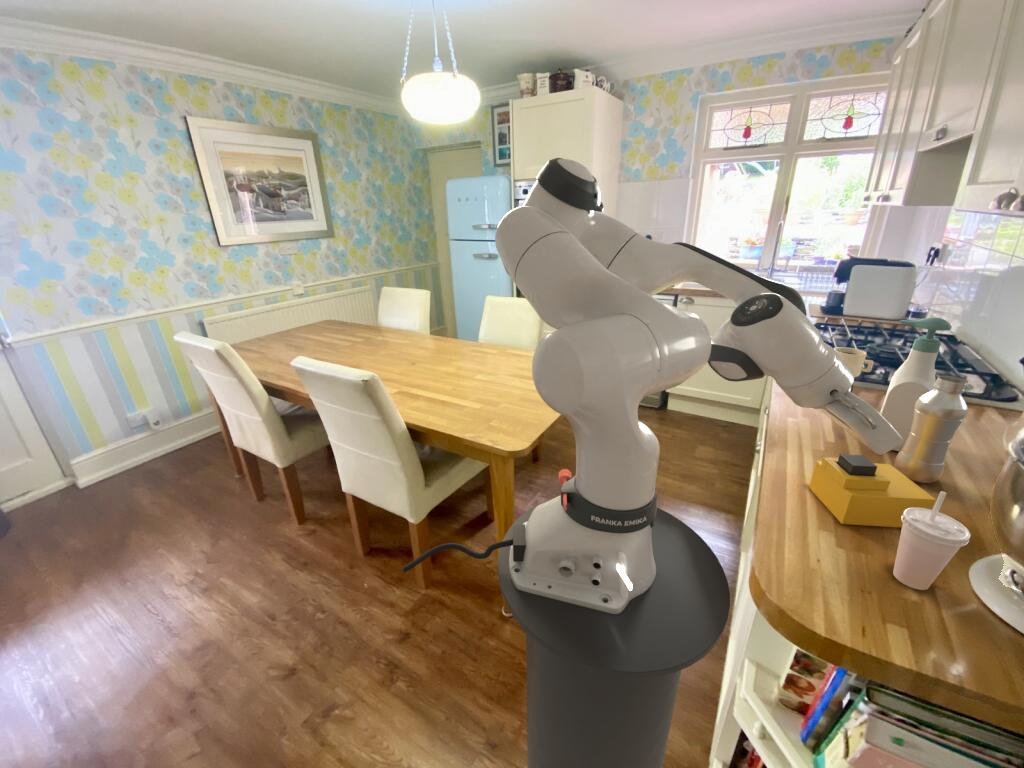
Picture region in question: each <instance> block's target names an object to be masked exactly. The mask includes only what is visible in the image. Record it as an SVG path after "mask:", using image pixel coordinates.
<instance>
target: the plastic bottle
mask: <svg viewBox="0 0 1024 768" xmlns="http://www.w3.org/2000/svg"><path fill="white" fill-rule="evenodd" d="M968 384H969V382H968V380H967V379H964V378H961V377H958V376H952V375H938V376H937V378H936V383H934V385H933V387H934V390H932V391H930V392H928V393H926V394H924V395H923V396H921V397H920V398H919V399H918V400H917V401H916V404H915V409H914V416H913V422H912V425H911V430H910V432H909V436H908V438H907V440H906V442H905V444H904V446H903V448H902V449H901V450H900V452H899V451H898V453H897V454H896V456H895V458H894V464H893V467H894V468H896V469H897V470H898V471H899V472H901V473H902V474H903V475H905V476H906V477H907V478H909V479H910V480H911V481H912V482H917V483H923V484H932V483H934V482H937V481H939V480H940V478H941V477H942V476H943V474H944V471H945V466H946V465H945V463H946V457H947V453H948V450H949V446H950V444H951V442H952V439H954V436H955V434H956V432H957V430H958V429H959V427H960V426H961V425H962V423H963V422H964V420H965V418H966V417H967V415H968V412H969V409H968V405H967V403H966V401H965V399H964V397H963V395H962V394H964V393H966V390H967V389H966V388H967V386H968Z"/></svg>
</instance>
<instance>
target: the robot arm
mask: <svg viewBox="0 0 1024 768" xmlns="http://www.w3.org/2000/svg"><path fill="white" fill-rule="evenodd" d="M538 172H539V173H538V174H537V175H536V181H535V183H534V184H533V186H532V187H531V189H530V192H528V194H527V196H526V198H525V200H524V202H523V204H522V205H521V206H518V207H514V208H512V209H511V210H509V211H508V212H507V213H505V215H504V216H503V217H502V218H501V220H500V221H499V223H498V224H497V227H496V230H495V235H494V237H495V238H494V244H495V247H496V249H497V253H498V255H499V258H500V261H501V262H502V265H503V268H504V270H505V272H506V273H507V275H508V276H509V277H510V278H511V280H512V282H513V283H514V285H515V286H516V287H517V289H518V290H519V291H520V292H521V294H522V296H524V298H525V299H526V301H527V302H528V303H529V305H530V306H531V307H532V309H533V310H534V311H535V313H536V314H537V316H538V317H539V318H540V319H541V321H542V322H544V323H545V324H547V326H549V327H550V328H553V329H556V330H554V331H552V332H551V333H548V334H546V335H544V336H543V337H542V338H541V339H540V340H539V342H538V343H537V346H536V348H535V349H534V353H533V355H532V360H531V362H532V363H531V376H532V380H533V384H534V387H535V390H536V392H537V394H538V395H539V397H540V398H541V400H542V401H543V402H544V403H545V404H546V405H547V406H548V407H549V408H550V409H552V410H553V411H554V412H556V413H558V414H559V415H561V416H563V417H564V418H565V419H566V420H567V421H568V422H569V424H570V426H571V429H572V431H573V435H574V439H575V475H574V476H572V475H573V474H572V471H570V469H568V468H563V469H561V470H560V471H559V472H558V480H557V481H558V484H559V485H560V495H558V496H556V497H554V499H553V498H551V499H552V500H550V499H548V500H549V501H547V500H546V501H547V502H545V501H544V502H545V503H543V502H542V503H543V504H540V503H539V504H540V505H538V504H537V505H538V506H537V507H536V508H535V509H534V510H533V512H532V513H531V515H530V517H529V520H528V521H527V522H525V523H523V524H514V523H513V524H514V525H513V524H512V525H513V539H511V540H506V541H503V540H501V541H497V542H495V543H493V544H491V545H489V546H488V547H487V548H486V550H485V551H484V552H477V551H474V550H472V549H470V548H469V547H467V546H465V545H463V544H460V543H457V542H446V543H442V544H439V545H436V546H434V547H432V548H430V549H428V550H426V551H425V552H423V553H422V554H421V555H419V556H418V557H417V558H415V559H413V560H412V561H410V562H408V563H407V564H405V565H404V566H402V567H401V568H402V571H403V573H404V574H405V573H408V572H409V571H410V570H411V569H413V568H415V567H417V566H418V565H419V564H421V563H422V562H423V561H425V560H426V559H428V558H430V557H431V556H432V555H433V556H434V554H437V553H439V552H441V551H445V550H457V551H460V552H462V553H464V554H466V555H467V556H469V557H471V558H473V559H477V560H486V559H487V558H489V557H490V556H491V555H492V552H493V551H496V550H498V549H500V548H502V547H507V546H511V548H510V555H509V572H510V576H511V579H512V582H513V584H514V585H515V587H516V588H517V589H518V590H521V591H525V592H528V593H532V594H536V595H540V596H544V597H548V598H552V599H556V600H560V601H564V602H568V603H572V604H576V605H580V606H583V607H587V608H591V609H595V610H599V611H603V612H607V613H611V614H619V613H621V612H622V611H623V610H624V609H625V607H626V606H627V604H628V603H629V601H630V600H631V599H633V598H635V597H637V596H639V595H640V594H642V593H644V592H645V591H646V590H647V589H648V588H649V587H650V586H651V585H652V583H653V582H654V579H655V576H656V565H655V561H654V557H653V550H652V535H651V532H652V527H653V525H654V519H655V518H656V511H657V508H658V492H657V490H656V484H657V476H658V468H659V463H660V455H661V445H660V441H659V440H658V438H657V436H656V435H655V434H654V432H653V431H652V430H651V428H649V426H647V425H646V424H645V423H643V422H642V421H640V420H639V406H640V404H641V402H642V400H643V399H644V398H646V397H649V396H652V395H656V394H657V393H661V392H663V391H666V390H670V389H673V388H676V387H678V386H680V385H682V384H683V383H684V382H686V381H688V380H690V379H691V378H693V376H695V375H696V374H697V373H699V372H700V371H701V370H702V369H704V367H705V366H706V364H708V366H709V367H710V369H712V370H713V372H715V373H716V374H717V375H718V376H719V377H721V378H722V379H724V380H726V381H728V382H734V383H735V382H747V381H754V380H755V381H756V380H759V379H763V378H765V377H771V378H772V379H773V380H774V382H775V383H776V384H777V386H778V387H779V388H780V389H781V390H782V391H783V392H784V394H786V396H787V397H788V398H789V399H790V401H792V403H794V405H796V406H798V407H799V408H804V409H813V410H818V411H820V412H821V414H823V415H825V416H826V417H827V418H829V419H830V420H832V421H833V422H834V423H836V424H837V425H838V426H839V427H841V428H842V429H843V430H844V431H846V432H847V433H848V434H849V435H851V436H853V438H855V439H856V440H857V441H859V442H860V443H862V444H863V445H864V446H865V447H867V448H868V449H869V450H871V451H872V452H873V453H874V454H876V455H878V456H882V455H884V454H886V453H888V452H890V451H893V450H892V449H894V448H895V447H897V446H899V445H900V444H901V443H902V441H903V439H902V437H901V436H900V434H899V433H898V432H897V431H896V430H895V429H894V428H893V427H892V426H891V425H890V423H889V422H888V421H887V420H886V419H885V418H884V417H883V416H882V415H881V414H880V411H878V410H877V409H876V408H875V407H874V406H873V405H871V404H870V403H869V402H867V401H866V400H864V399H862V398H861V397H859V396H858V395H856V394H855V393H853V392H852V393H851V392H850V391H851V386H852V384H853V385H854V383H853V382H855V377H854V373H853V371H852V370H851V369H850V368H849V366H848V365H847V364H846V363H845V362H844V361H843V359H842V358H841V357H840V356H839V355H838V353H837V352H836V351H835V350H834V347H832V346H831V345H829V344H828V343H826V342H825V341H824V340H823V338H822V336H821V333H820V332H819V329H818V328H817V327H816V326H815V324H814V323H813V322H812V321H811V320H810V319H809V318H808V316H807V309H806V304H805V301H804V299H803V297H802V295H801V294H800V293H799V292H798V290H796V289H795V288H794V287H791V286H790V285H787V284H786V283H782V282H779V281H776V280H772V279H768V278H765V277H763V276H760V275H758V274H755V273H754V272H751V271H749V270H747V269H745V268H743V267H741V266H738V265H737V264H734V263H732V262H730V261H728V260H726V259H724V258H721V257H720V256H717V255H716V254H713V253H711V252H709V251H706V250H704V249H703V248H700V247H697V246H695V245H693V244H689V243H687V242H682V241H677V242H676V241H675V242H673V243H666V242H665V243H664V242H660V241H656V240H654V239H650V238H648V237H646V236H644V235H643V234H641V233H639V232H638V231H636V230H635V229H634V228H632V227H631V226H628V225H627V224H625V223H624V222H621V221H619V219H616V218H614V217H612V216H610V215H607V214H604V213H603V212H604V207H605V206H604V204H603V202H602V201H601V189H600V186H599V183H598V181H597V179H596V177H595V176H594V175H593V174H592V173H591V172H590V170H589V168H587V167H586V166H585V165H584V164H582V163H580V162H578V161H576V160H574V159H568V158H562V157H555V158H551V159H548V161H547V162H546V163H545V164H544V165H543V167H541V169H540V171H538ZM681 283H694V284H698V285H701V286H703V287H705V288H706V289H709V290H711V291H713V292H715V293H717V294H719V295H721V296H723V297H725V298H727V299H729V300H731V301H733V302H734V303H735V304H736V307H735V308H734V309H733V311H732V312H731V313H730V315H728V317H727V318H726V320H724V322H723V323H722V324H720V326H719V327H718V328H717V329H716V331H715V332H714V333H713V334H712V336H711V334H710V331H709V328H708V326H707V325H706V323H705V321H704V320H703V319H702V318H701V317H700V316H698V315H697V314H696V313H695V312H692V311H691V310H688V309H684V308H680V307H677V306H675V305H671V304H669V303H666V302H664V301H662V300H660V299H657V298H656V297H654V296H655V295H657V294H659V293H661V292H663V291H664V290H666V289H668V288H670V287H673V286H675V285H679V284H681ZM516 571H518V572H516ZM603 601H606V602H607V603H604V602H603Z"/></svg>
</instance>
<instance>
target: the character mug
mask: <svg viewBox="0 0 1024 768" xmlns="http://www.w3.org/2000/svg"><path fill="white" fill-rule="evenodd" d="M833 349H834V350H835V351H836V352H837V353H838V355H839V356H840V357H841V358H842V359H843V361H844V362H845V363H846V364H847V365H848V366H849V368H850V369H851V370H852V371H853V373H854V378H857V377H859V376H860V375H861V373H862V372H863V373H864V372H865V373H871V371H872V370H873V367H874V363H875V361H874V360H872V359H866V357H867V356H868V355H867V352H866V351H864V350H862V349H858V348H853V347H847V346H846V347H845V346H837V347H833ZM865 364H867V367H864V365H865ZM854 382H855V381H854ZM854 382H853V384H852V386H851V391H850V392H851V393H853V392H854V391H853V390H854Z"/></svg>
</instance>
